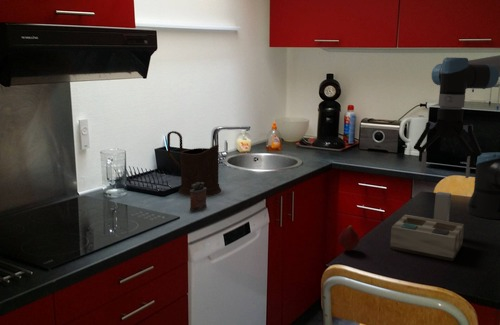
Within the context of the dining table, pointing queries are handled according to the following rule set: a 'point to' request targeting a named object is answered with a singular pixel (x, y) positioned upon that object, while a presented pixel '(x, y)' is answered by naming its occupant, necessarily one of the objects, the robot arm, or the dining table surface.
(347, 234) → the onion
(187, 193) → the dark brown mug
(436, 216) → the plug
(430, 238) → the socket board
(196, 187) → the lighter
